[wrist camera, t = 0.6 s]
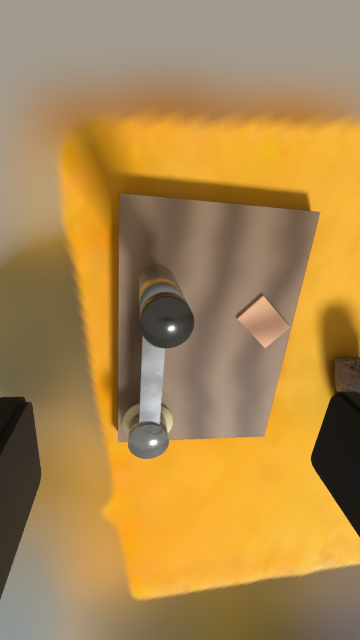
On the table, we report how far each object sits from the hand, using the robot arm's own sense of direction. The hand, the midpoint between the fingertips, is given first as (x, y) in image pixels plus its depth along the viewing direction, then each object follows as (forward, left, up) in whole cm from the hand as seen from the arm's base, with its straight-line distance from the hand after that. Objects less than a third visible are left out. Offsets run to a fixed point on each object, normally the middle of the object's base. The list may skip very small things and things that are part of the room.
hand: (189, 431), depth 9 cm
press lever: (0, +9, -20) cm, 22 cm away
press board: (-6, +7, -22) cm, 24 cm away
